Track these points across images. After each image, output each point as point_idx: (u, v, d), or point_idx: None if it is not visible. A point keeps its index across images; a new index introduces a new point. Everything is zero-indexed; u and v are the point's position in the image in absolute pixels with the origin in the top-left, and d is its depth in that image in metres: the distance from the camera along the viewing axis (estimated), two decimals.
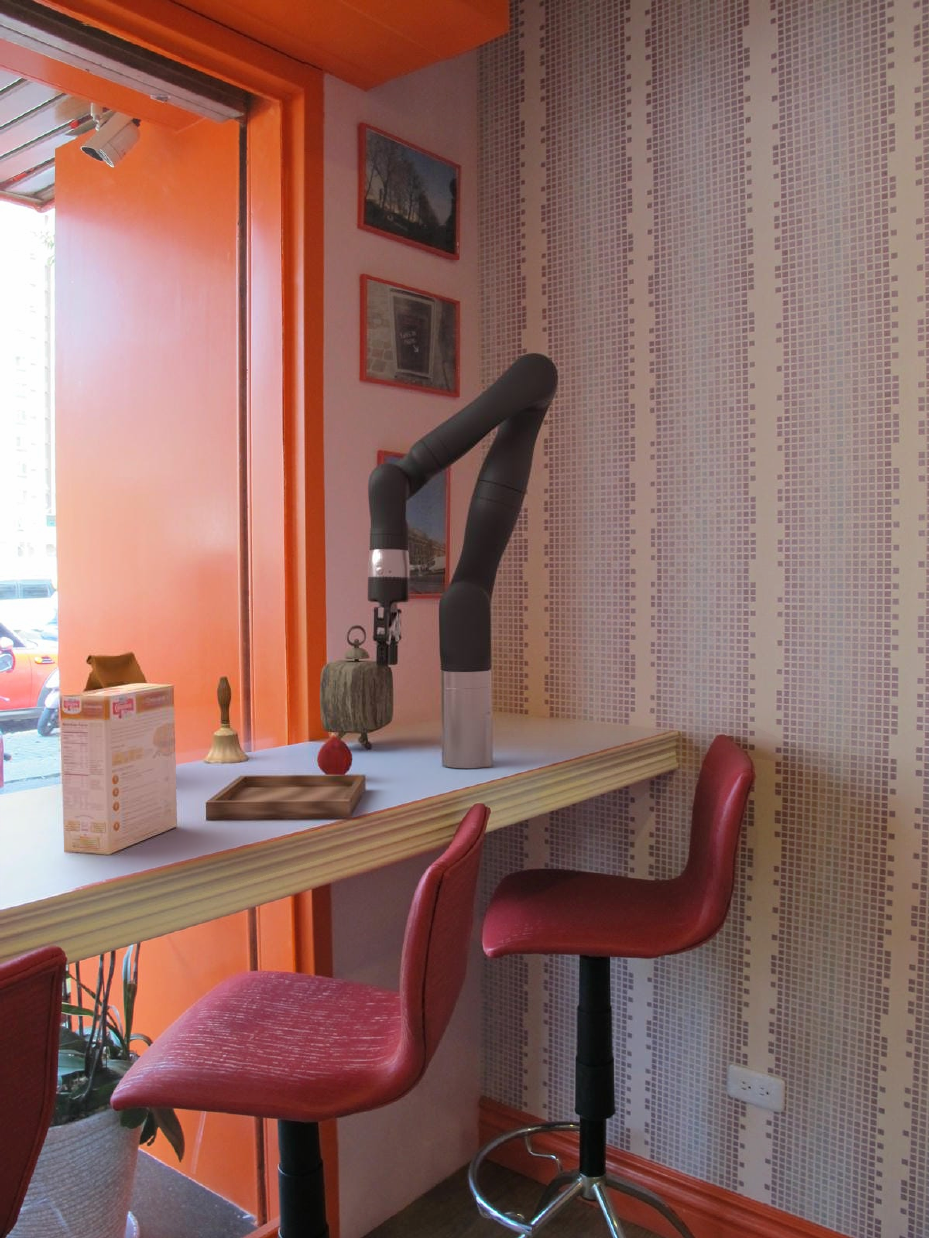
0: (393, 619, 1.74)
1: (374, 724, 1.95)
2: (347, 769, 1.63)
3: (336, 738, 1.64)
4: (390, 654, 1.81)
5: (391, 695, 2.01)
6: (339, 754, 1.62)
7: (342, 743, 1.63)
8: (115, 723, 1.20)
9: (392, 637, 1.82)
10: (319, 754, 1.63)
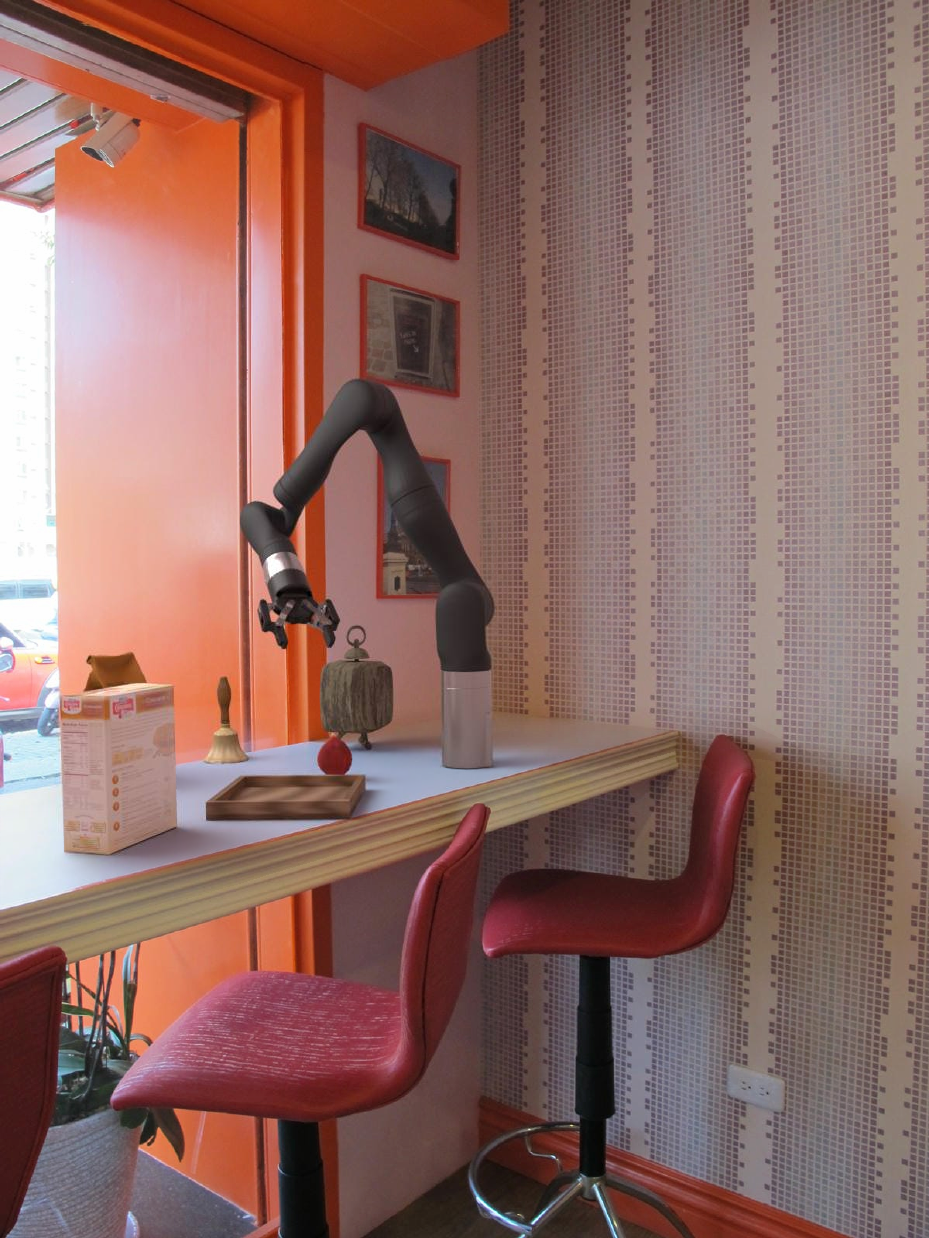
0: (285, 606, 1.77)
1: (374, 724, 1.95)
2: (347, 769, 1.63)
3: (336, 738, 1.64)
4: (326, 637, 1.77)
5: (391, 695, 2.01)
6: (339, 754, 1.62)
7: (342, 743, 1.63)
8: (115, 723, 1.20)
9: None
10: (319, 754, 1.63)
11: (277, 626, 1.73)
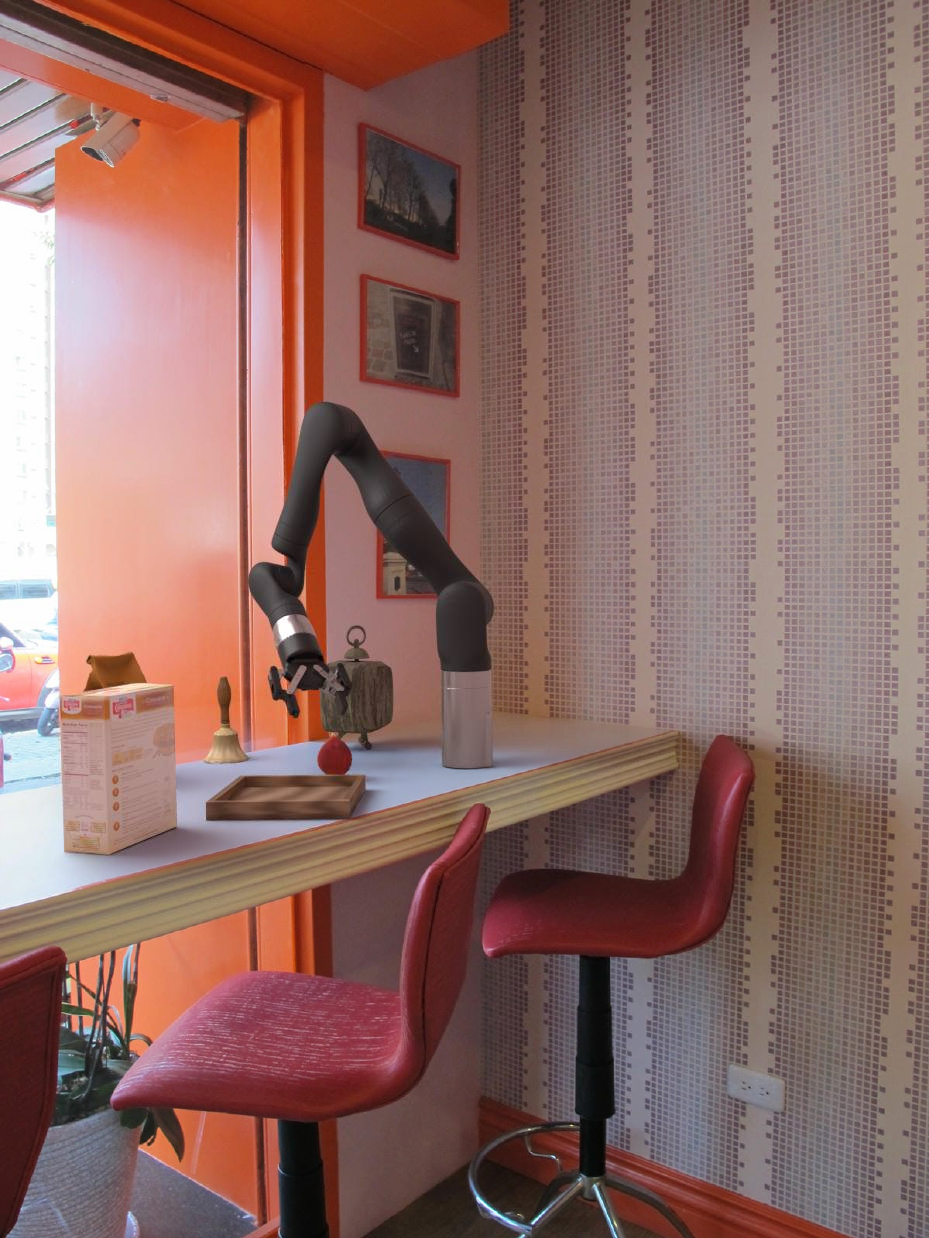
0: (296, 672, 1.72)
1: (374, 724, 1.95)
2: (347, 769, 1.63)
3: (336, 738, 1.64)
4: (338, 704, 1.73)
5: (391, 695, 2.01)
6: (339, 754, 1.62)
7: (342, 743, 1.63)
8: (115, 723, 1.20)
9: None
10: (319, 754, 1.63)
11: (288, 694, 1.69)
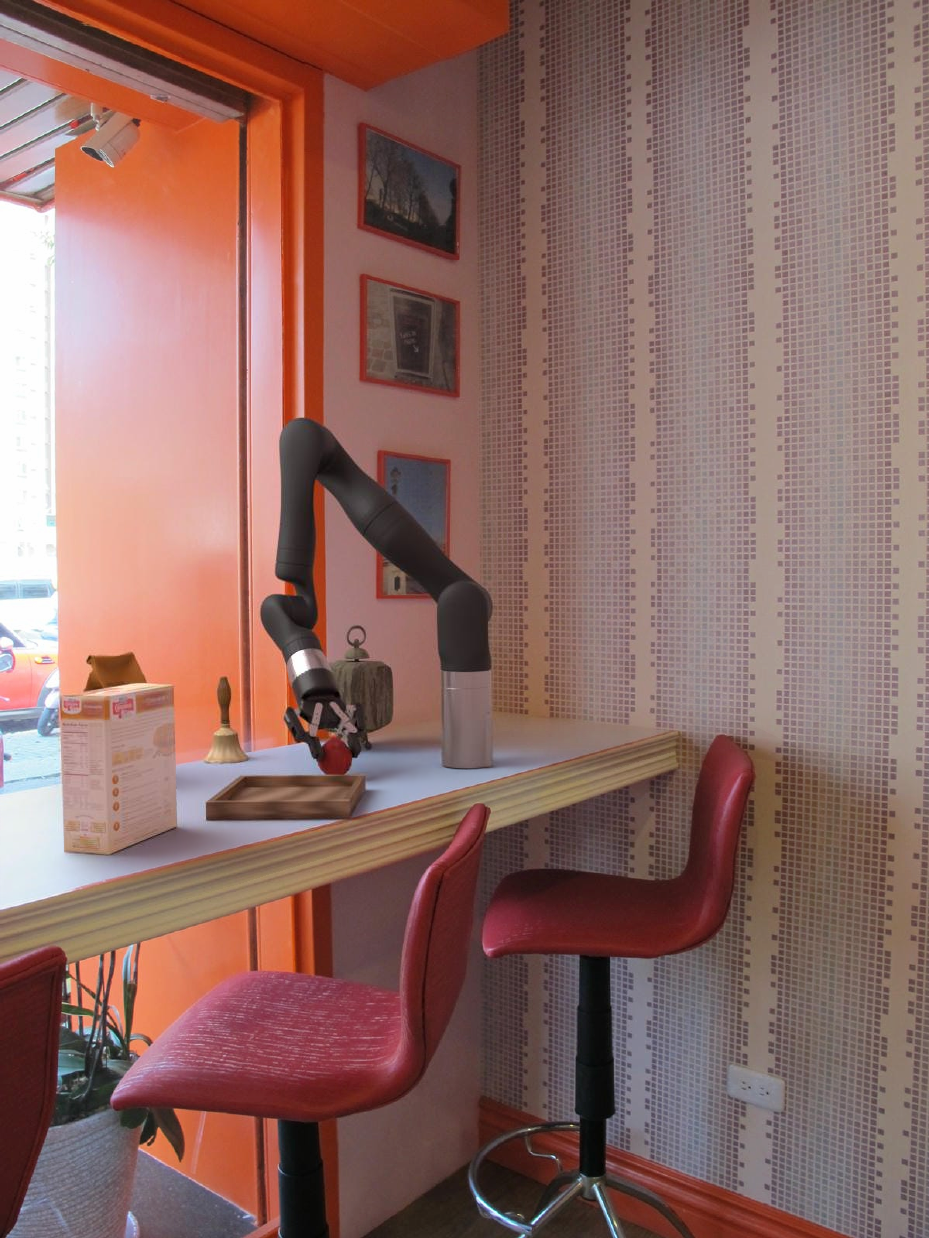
0: (313, 711, 1.66)
1: (374, 724, 1.95)
2: (347, 769, 1.63)
3: (336, 738, 1.64)
4: (351, 747, 1.65)
5: (391, 695, 2.01)
6: (339, 754, 1.62)
7: (342, 743, 1.63)
8: (115, 723, 1.20)
9: None
10: None
11: (312, 737, 1.63)
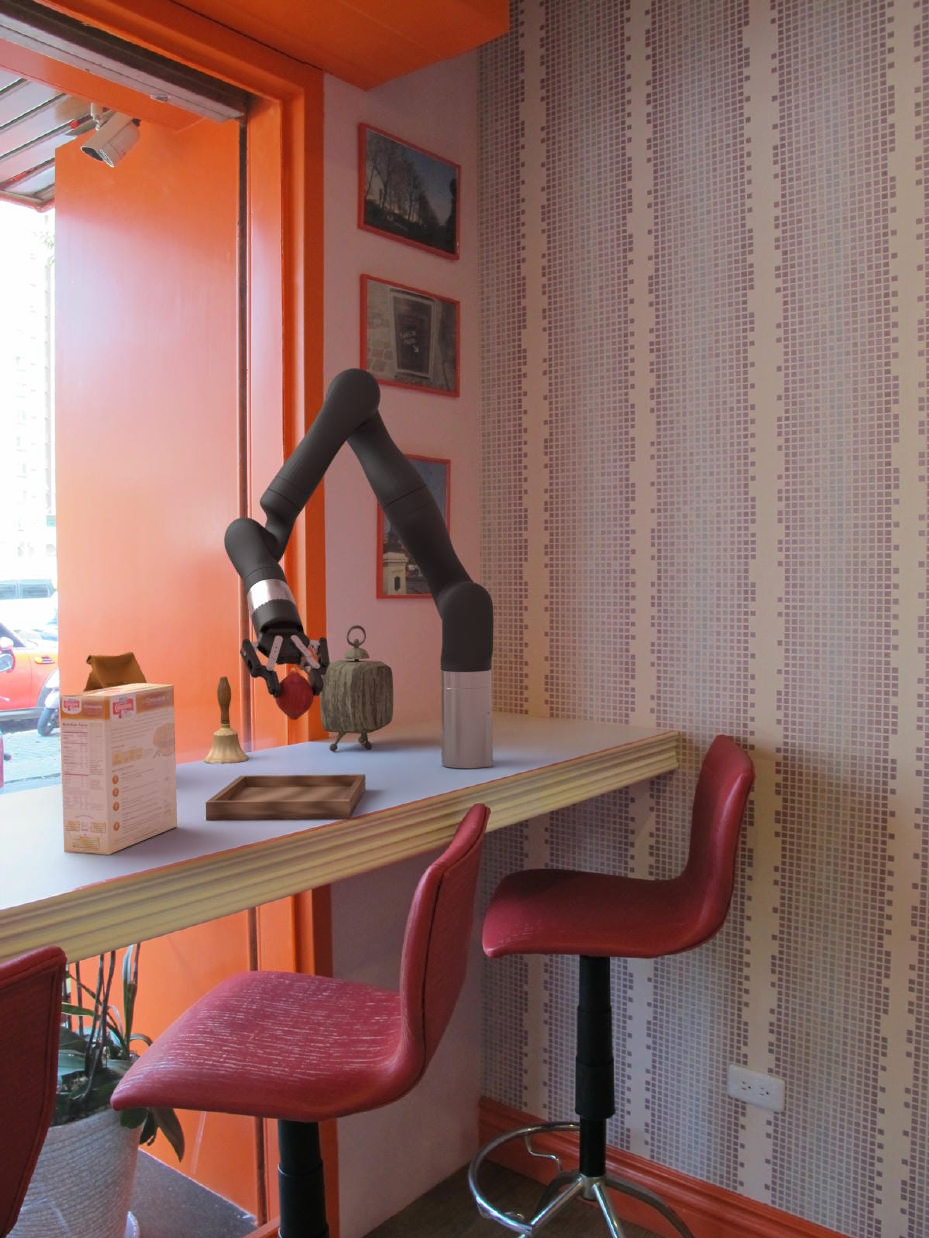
0: (272, 645, 1.52)
1: (374, 724, 1.95)
2: (307, 707, 1.49)
3: (296, 673, 1.50)
4: (312, 683, 1.51)
5: (391, 695, 2.01)
6: (298, 690, 1.48)
7: (302, 679, 1.49)
8: (115, 723, 1.20)
9: None
10: None
11: (269, 671, 1.49)
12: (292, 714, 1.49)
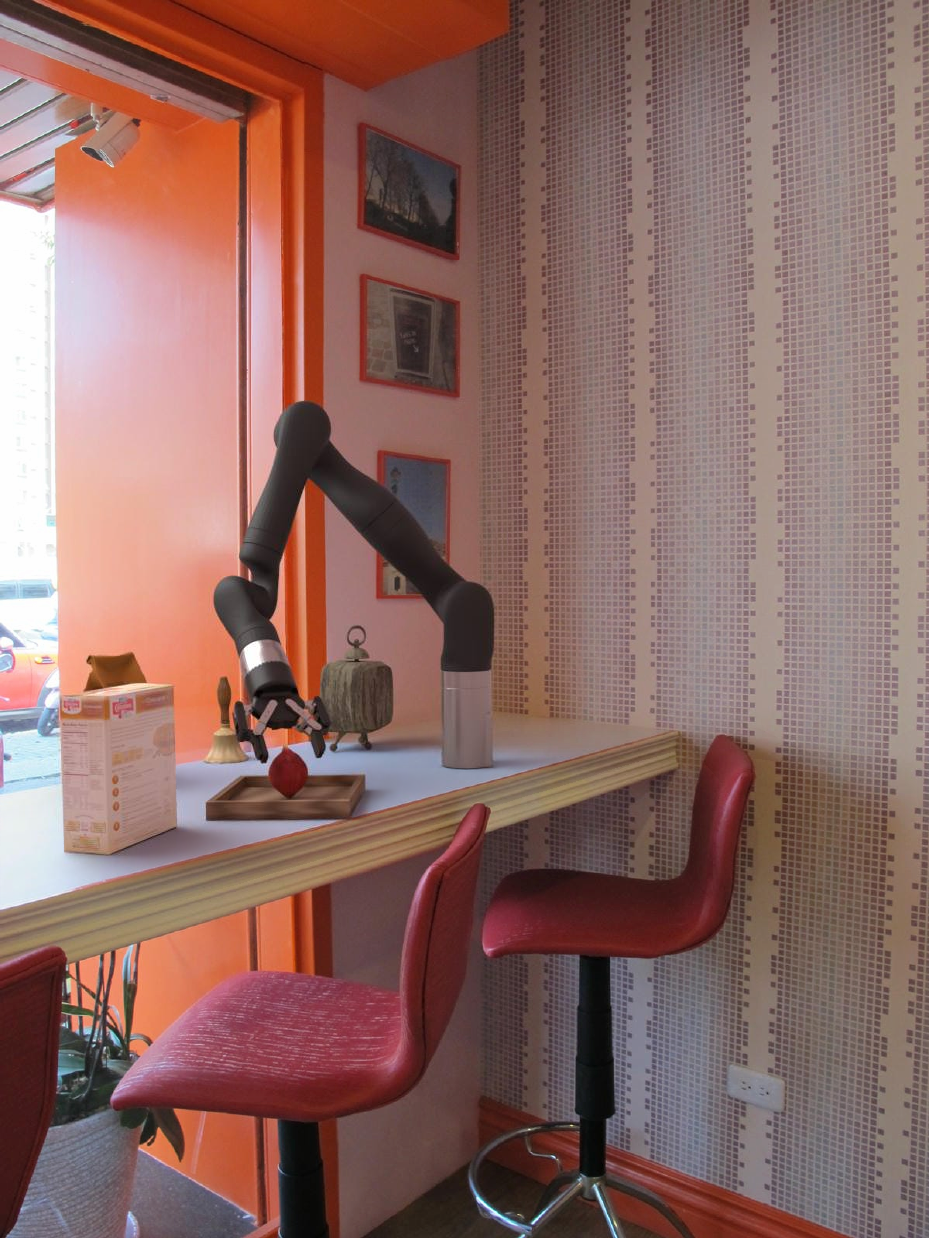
0: (265, 708, 1.48)
1: (374, 724, 1.95)
2: (303, 785, 1.45)
3: (288, 751, 1.46)
4: (314, 745, 1.48)
5: (391, 695, 2.01)
6: (292, 768, 1.44)
7: (295, 756, 1.45)
8: (115, 723, 1.20)
9: None
10: (270, 769, 1.45)
11: (255, 735, 1.44)
12: (287, 793, 1.45)
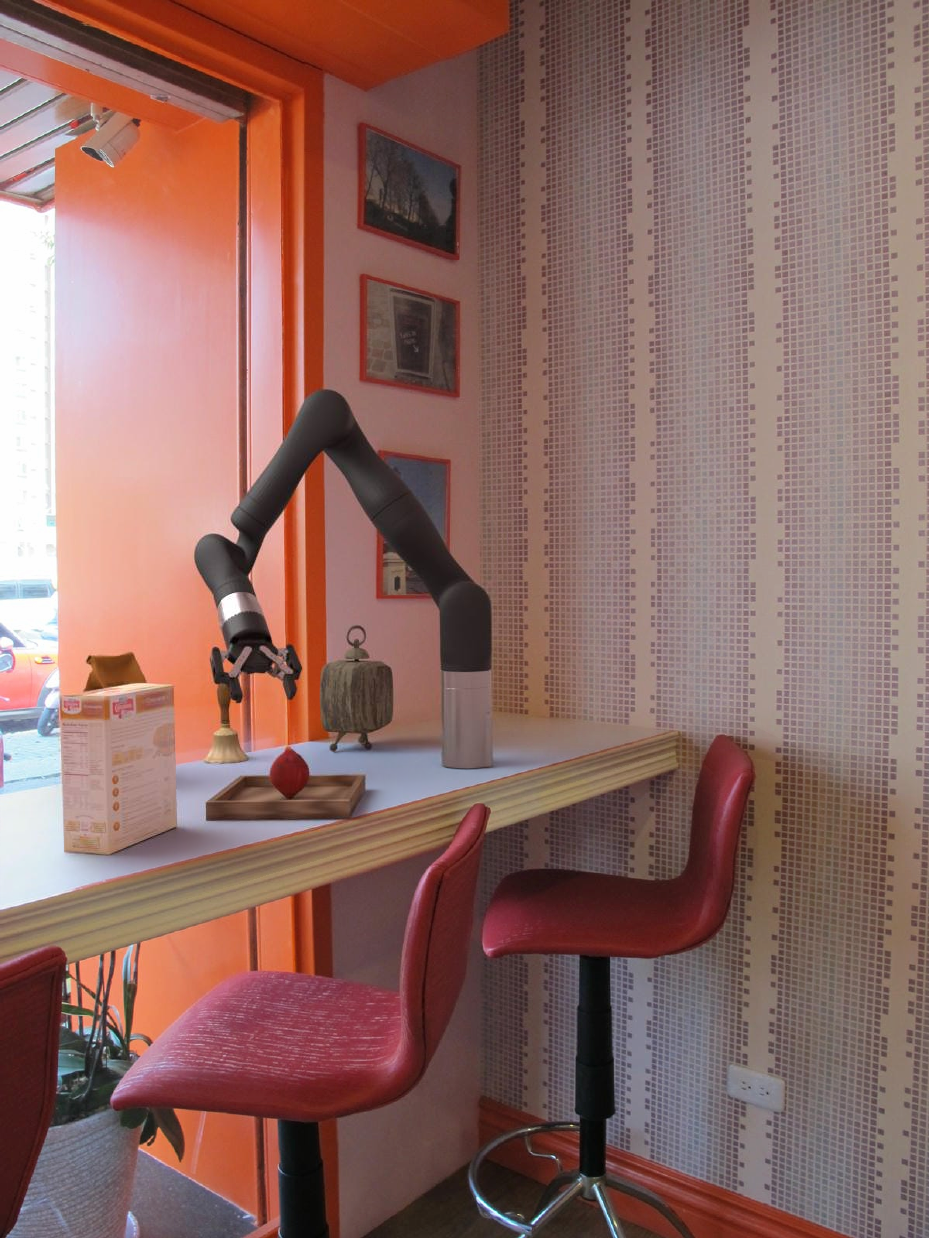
0: (240, 654, 1.59)
1: (374, 724, 1.95)
2: (303, 785, 1.45)
3: (291, 751, 1.46)
4: (286, 688, 1.60)
5: (391, 695, 2.01)
6: (293, 768, 1.44)
7: (297, 756, 1.46)
8: (115, 723, 1.20)
9: None
10: (271, 769, 1.45)
11: (231, 677, 1.56)
12: (287, 793, 1.45)
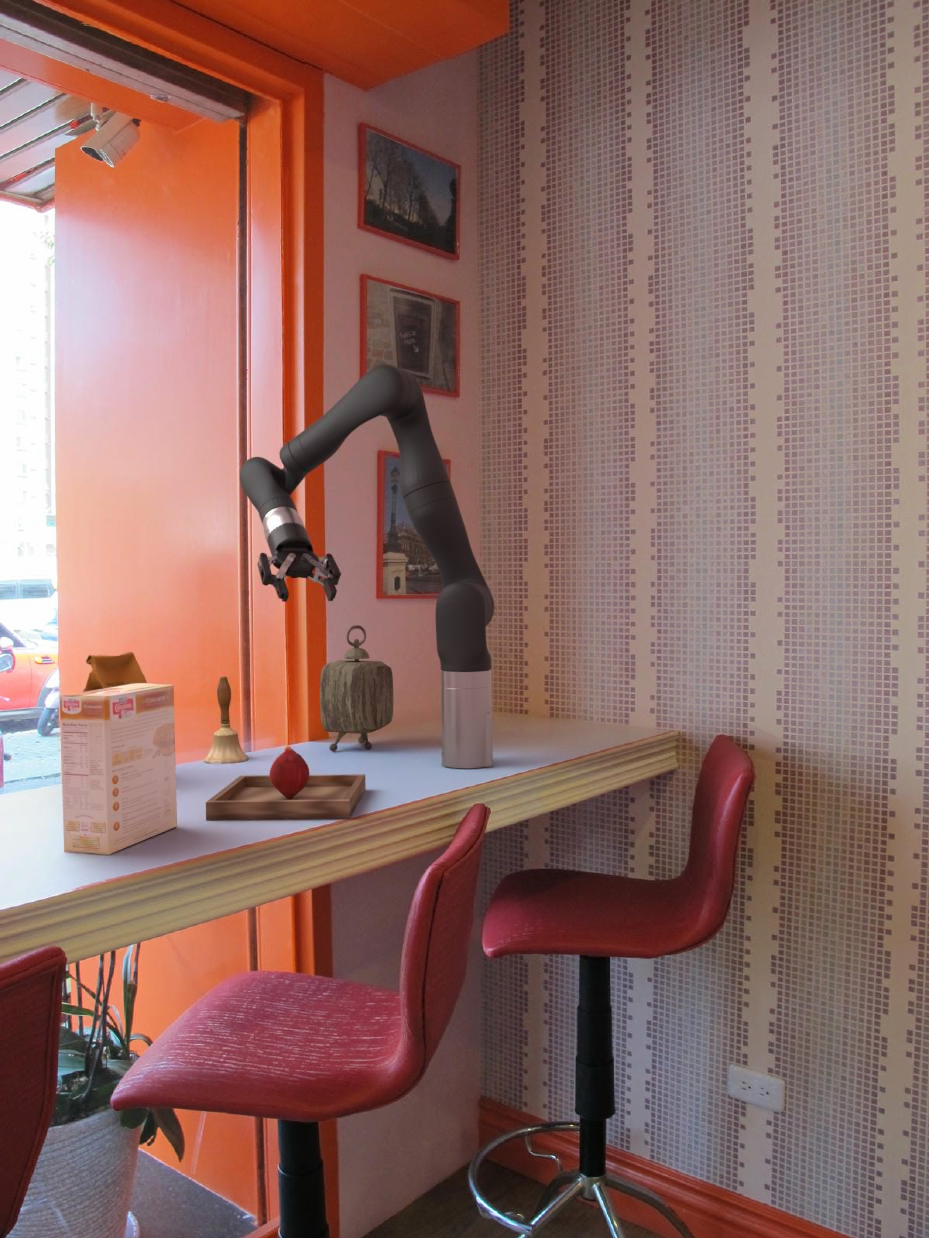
0: (285, 559, 1.75)
1: (374, 724, 1.95)
2: (303, 785, 1.45)
3: (291, 751, 1.46)
4: (327, 591, 1.76)
5: (391, 695, 2.01)
6: (293, 768, 1.44)
7: (297, 756, 1.46)
8: (115, 723, 1.20)
9: None
10: (271, 769, 1.45)
11: (277, 579, 1.72)
12: (287, 793, 1.45)
